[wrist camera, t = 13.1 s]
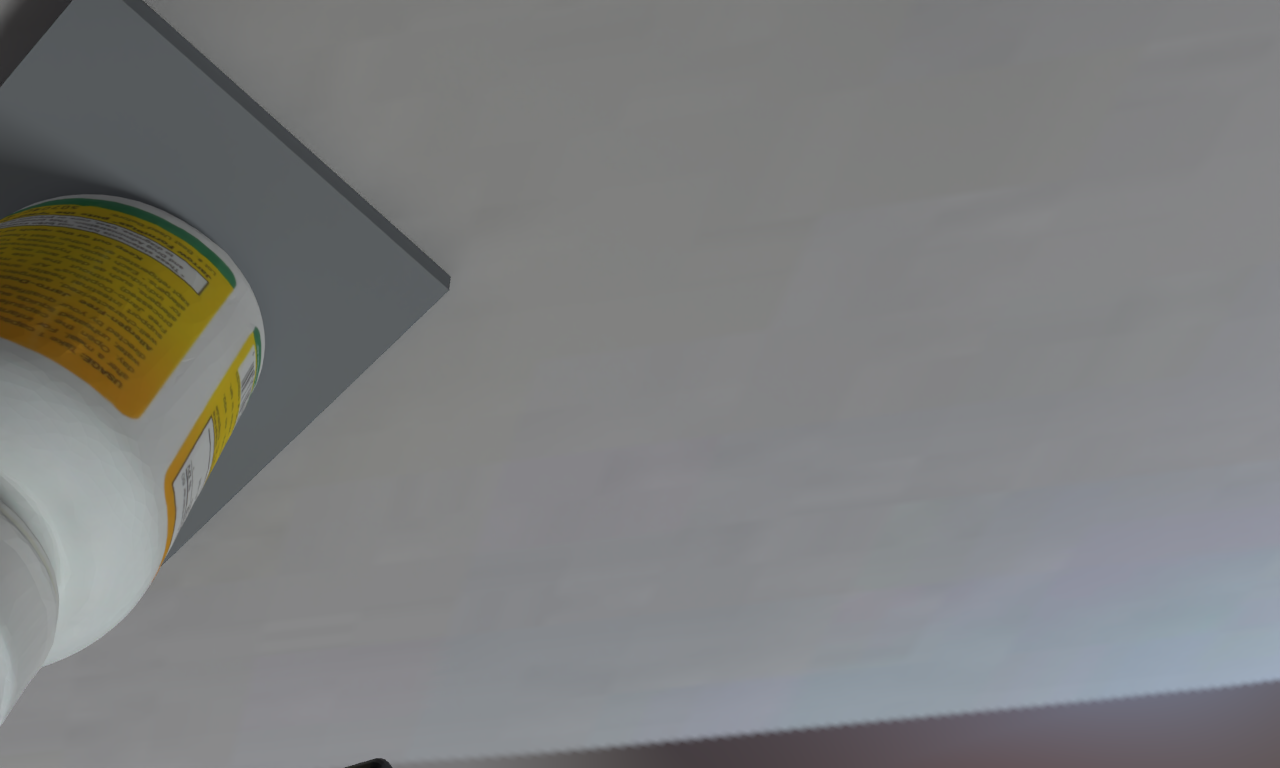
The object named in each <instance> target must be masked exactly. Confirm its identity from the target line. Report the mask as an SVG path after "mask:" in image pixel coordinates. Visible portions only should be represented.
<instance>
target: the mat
mask: <svg viewBox="0 0 1280 768" xmlns="http://www.w3.org/2000/svg"><path fill="white" fill-rule="evenodd" d="M80 194H96V195H109V196H117V197H122V198H126V199H131V200H135V201H139V202H142V203H145V204H148V205H151V206H153V207H156V208H158V209H161V210H163V211H165V212H167V213H169V214H171V215H173V216H175V217H177V218H179V219H180V220H182V221H184V222H185V223H187V224H189V225H190V226H192V227H194V228H196V229H197V230H198V231H199V232H201V233H202V234H204V235H205V236H206V237H208V238H209V239H210V240H211V241H212V242H214V243H215V244H216V245H218V246H219V247H220V248H221V249H223V250H224V251H225V252H226V253H227V254H228V255H229V257H230V258H231V259H232V261H233V262H234V263H235V264H236V266H237V267H238V268H239V270H240V271H241V272H242V274H243V275H244V277H245V279H246V280H247V282H248V283H249V285H250V287H251V289H252V291H253V293H254V295H255V298H256V300H257V303H258V306H259V308H260V312H261V317H262V321H263V326H264V333H265V351H264V359H263V365H262V369H261V372H260V375H259V379H258V381H257V384H256V386H255V388H254V390H253V392H252V394H251V396H250V399H249V401H248V403H247V405H246V407H245V409H244V411H243V413H242V414H241V416H240V418H239V420H238V422H237V424H236V426H235V428H234V430H233V432H232V434H231V436H230V437H229V439H228V441H227V443H226V445H225V446H224V448H223V450H222V452H221V454H220V456H219V458H218V460H217V462H216V464H215V466H214V467H213V469H212V471H211V473H210V475H209V477H208V479H207V481H206V483H205V485H204V486H203V488H202V490H201V492H200V494H199V496H198V497H197V499H196V501H195V502H194V504H193V506H192V508H191V510H190V512H189V514H188V516H187V518H186V520H185V522H184V524H183V525H182V527H181V529H180V531H179V533H178V535H177V537H176V539H175V541H174V543H173V545H172V547H171V549H170V550H169V552H168V554H167V556H166V558H165V559H164V561H163V563H162V565H163V564H164V563H165V562H166V561H167V560H168V559H169V558H170V557H171V556H172V555H173V554H174V553H175V552H176V551H178V550H179V549H180V548H181V547H182V546H183V545H184V544H185V543H186V542H187V541H188V540H189V539H190V538H191V537H192V536H193V535H194V534H195V533H196V532H197V531H198V530H199V529H200V528H202V527H203V526H204V525H205V524H206V523H207V522H208V521H209V520H210V519H211V518H212V517H213V516H214V515H215V514H216V513H217V512H218V511H219V510H220V509H221V508H222V507H223V506H224V505H225V504H227V503H228V502H229V501H230V500H231V499H232V498H233V497H234V496H235V495H236V494H237V493H238V492H239V491H240V490H241V489H242V488H243V487H244V486H245V485H246V484H247V483H248V482H249V481H251V480H252V479H253V478H254V477H255V476H256V475H257V474H258V473H259V472H260V471H261V470H262V469H263V468H264V467H265V466H266V465H267V464H268V463H269V462H270V461H271V460H272V459H273V458H275V457H276V456H277V455H278V454H279V453H280V452H281V451H282V450H283V449H284V448H285V447H286V446H287V445H288V444H289V443H290V442H291V441H292V440H293V439H294V438H295V437H296V436H297V435H298V434H300V433H301V432H302V431H303V430H304V429H305V428H306V427H307V426H308V425H309V424H310V423H311V422H312V421H313V420H314V419H315V418H316V417H317V416H318V415H319V414H320V413H321V412H322V411H324V410H325V409H326V408H327V407H328V406H329V405H330V404H331V403H332V402H333V401H334V400H335V399H336V398H337V397H338V396H339V395H340V394H341V393H342V392H343V391H344V390H345V389H346V388H347V387H349V386H350V385H351V384H352V383H353V382H354V381H355V380H356V379H357V378H358V377H359V376H360V375H361V374H362V373H363V372H364V371H365V370H366V369H367V368H368V367H369V366H370V365H371V364H373V363H374V362H375V361H376V360H377V359H378V358H379V357H380V356H381V355H382V354H383V353H384V352H385V351H386V350H387V349H388V348H389V347H390V346H391V345H392V344H393V343H394V342H395V341H396V340H398V339H399V338H400V337H401V336H402V335H403V334H404V333H405V332H406V331H407V330H408V329H409V328H410V327H411V326H412V325H413V324H414V323H415V322H416V321H417V320H418V319H419V318H420V317H422V316H423V315H424V314H425V313H426V312H427V311H428V310H429V309H430V308H431V307H432V306H433V305H434V304H435V303H436V302H437V301H438V300H439V299H440V298H441V297H442V296H443V295H444V294H445V293H447V292H448V291H449V286H450V278H451V277H450V276H449V275H448V274H447V273H446V272H445V271H444V270H442V269H441V268H440V267H439V266H438V265H437V264H436V263H435V262H434V261H432V260H431V259H430V258H429V257H428V256H427V255H426V254H425V253H423V252H422V251H421V250H420V249H419V248H418V247H417V246H416V245H415V244H413V243H412V242H411V241H410V240H409V239H408V238H407V237H406V236H405V235H403V234H402V233H401V232H400V231H399V230H398V229H397V228H396V227H394V226H393V225H392V224H391V223H390V222H389V221H388V220H387V219H386V218H384V217H383V216H382V215H381V214H380V213H379V212H378V211H377V210H376V209H374V208H373V207H372V206H371V205H370V204H369V203H368V202H367V201H365V200H364V199H363V198H362V197H361V196H360V195H359V194H358V193H357V192H355V191H354V190H353V189H352V188H351V187H350V186H349V185H348V184H346V183H345V182H344V181H343V180H342V179H341V178H340V177H339V176H338V175H336V174H335V173H334V172H333V171H332V170H331V169H330V168H329V167H328V166H326V165H325V164H324V163H323V162H322V161H321V160H320V159H319V158H317V157H316V156H315V155H314V154H313V153H312V152H311V151H310V150H309V149H307V148H306V147H305V146H304V145H303V144H302V143H301V142H300V141H299V140H297V139H296V138H295V137H294V136H293V135H292V134H291V133H290V132H288V131H287V130H286V129H285V128H284V127H283V126H282V125H281V124H280V123H278V122H277V121H276V120H275V119H274V118H273V117H272V116H271V115H269V114H268V113H267V112H266V111H265V110H264V109H263V108H262V107H261V106H259V105H258V104H257V103H256V102H255V101H254V100H253V99H252V98H251V97H249V96H248V95H247V94H246V93H245V92H244V91H243V90H242V89H240V88H239V87H238V86H237V85H236V84H235V83H234V82H233V81H232V80H230V79H229V78H228V77H227V76H226V75H225V74H224V73H223V72H222V71H220V70H219V69H218V68H217V67H216V66H215V65H214V64H213V63H211V62H210V61H209V60H208V59H207V58H206V57H205V56H204V55H203V54H201V53H200V52H199V51H198V50H197V49H196V48H195V47H194V46H192V45H191V44H190V43H189V42H188V41H187V40H186V39H185V38H184V37H182V36H181V35H180V34H179V33H178V32H177V31H176V30H175V29H174V28H172V27H171V26H170V25H169V24H168V23H167V22H166V21H165V20H163V19H162V18H161V17H160V16H159V15H158V14H157V13H156V12H155V11H153V10H152V9H151V8H150V7H149V6H148V5H147V4H146V3H144V2H143V1H142V0H72V2H71V3H70V4H69V5H68V6H67V8H66V9H65V10H64V11H63V12H62V14H61V15H60V16H59V17H58V18H57V20H56V21H55V22H54V23H53V24H52V26H51V27H50V28H49V29H48V30H47V32H46V33H45V34H44V35H43V36H42V38H41V39H40V40H39V41H38V42H37V44H36V45H35V46H34V47H33V48H32V50H31V51H30V52H29V53H28V54H27V56H26V57H25V58H24V59H23V60H22V62H21V63H20V64H19V65H18V66H17V68H16V69H15V70H14V71H13V72H12V74H11V75H10V76H9V77H8V78H7V80H6V81H5V82H4V83H3V84H2V86H1V87H0V220H1V219H2V218H4V217H6V216H8V215H10V214H12V213H14V212H16V211H18V210H20V209H22V208H24V207H27V206H29V205H31V204H34V203H37V202H40V201H44V200H47V199H52V198H56V197H60V196H68V195H80ZM162 565H161V566H162Z"/></svg>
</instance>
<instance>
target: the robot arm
mask: <svg viewBox="0 0 1280 768" xmlns="http://www.w3.org/2000/svg"><path fill="white" fill-rule="evenodd" d="M345 768H392V766H391V765H390V764H389V762H387V761H386V760H385V759H382V758H376V759H372V760H369V761H366V762H362V763H359V764H355V765H352V766H349V767H345Z"/></svg>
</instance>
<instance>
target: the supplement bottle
mask: <svg viewBox="0 0 1280 768" xmlns="http://www.w3.org/2000/svg"><path fill="white" fill-rule="evenodd" d="M264 351H265V333H264V326H263V321H262V317H261V312H260V308H259V306H258V303H257V300H256V298H255V295H254V293H253V291H252V289H251V287H250V285H249V283H248V282H247V280H246V279H245V277H244V275H243V274H242V272H241V271H240V270H239V268H238V267H237V266H236V264H235V263H234V262H233V261H232V259H231V258H230V257H229V255H228V254H227V253H226V252H225V251H224V250H223V249H221V248H220V247H219V246H218V245H216V244H215V243H214V242H212V241H211V240H210V239H209V238H208V237H206V236H205V235H204V234H202V233H201V232H199V231H198V230H197V229H196V228H194V227H192V226H190V225H189V224H187V223H185V222H184V221H182V220H180V219H179V218H177V217H175V216H173V215H171V214H169V213H167V212H165V211H163V210H161V209H158V208H156V207H153V206H151V205H148V204H145V203H142V202H139V201H135V200H131V199H126V198H122V197H117V196H109V195H96V194H80V195H68V196H60V197H56V198H52V199H47V200H44V201H40V202H37V203H34V204H31V205H29V206H27V207H24V208H22V209H20V210H18V211H16V212H14V213H12V214H10V215H8V216H6V217H4V218H2V219H1V220H0V726H1V725H2V723H3V722H4V720H5V719H6V717H7V716H8V714H9V713H10V711H11V710H12V708H13V707H14V705H15V704H16V702H17V701H18V699H19V698H20V696H21V694H22V693H23V691H24V690H25V688H26V687H27V685H28V684H29V682H30V681H31V680H32V679H33V678H34V676H35V675H36V674H37V672H38V671H39V669H40V668H41V667H44V666H47V665H49V664H52V663H54V662H57V661H59V660H62V659H64V658H66V657H68V656H71V655H73V654H75V653H77V652H79V651H80V650H82V649H84V648H86V647H87V646H89V645H91V644H92V643H94V642H95V641H97V640H98V639H100V638H101V637H103V636H104V635H105V634H106V633H108V632H109V631H110V630H111V629H112V628H114V627H115V626H116V625H117V624H118V623H119V622H120V621H121V620H123V619H124V618H125V617H126V616H127V615H128V613H129V612H130V611H131V610H132V609H133V608H134V607H135V605H136V604H137V603H138V602H139V600H140V599H141V598H142V596H143V595H144V593H145V592H146V590H147V589H148V587H149V586H150V584H151V583H152V581H153V580H154V578H155V576H156V574H157V573H158V571H159V569H160V567H161V565H162V563H163V561H164V559H165V558H166V556H167V554H168V552H169V550H170V549H171V547H172V545H173V543H174V541H175V539H176V537H177V535H178V533H179V531H180V529H181V527H182V525H183V524H184V522H185V520H186V518H187V516H188V514H189V512H190V510H191V508H192V506H193V504H194V502H195V501H196V499H197V497H198V496H199V494H200V492H201V490H202V488H203V486H204V485H205V483H206V481H207V479H208V477H209V475H210V473H211V471H212V469H213V467H214V466H215V464H216V462H217V460H218V458H219V456H220V454H221V452H222V450H223V448H224V446H225V445H226V443H227V441H228V439H229V437H230V436H231V434H232V432H233V430H234V428H235V426H236V424H237V422H238V420H239V418H240V416H241V414H242V413H243V411H244V409H245V407H246V405H247V403H248V401H249V399H250V396H251V394H252V392H253V390H254V388H255V386H256V384H257V381H258V379H259V375H260V372H261V369H262V365H263V359H264Z"/></svg>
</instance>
